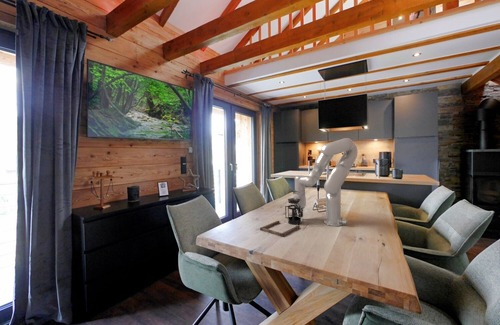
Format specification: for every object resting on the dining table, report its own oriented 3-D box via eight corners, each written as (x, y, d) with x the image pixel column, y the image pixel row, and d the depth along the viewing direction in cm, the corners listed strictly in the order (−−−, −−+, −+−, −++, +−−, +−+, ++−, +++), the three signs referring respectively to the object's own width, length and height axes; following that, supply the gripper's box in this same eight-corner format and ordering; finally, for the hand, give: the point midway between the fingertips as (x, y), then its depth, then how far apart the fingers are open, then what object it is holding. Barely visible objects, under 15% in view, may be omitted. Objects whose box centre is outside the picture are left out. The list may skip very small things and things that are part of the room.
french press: (303, 221, 156) (302, 190, 155) (301, 225, 148) (300, 192, 147) (287, 220, 161) (286, 189, 160) (284, 224, 152) (283, 191, 151)
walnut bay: (299, 228, 143) (299, 225, 143) (282, 236, 129) (282, 234, 129) (277, 222, 155) (277, 220, 155) (260, 230, 142) (259, 227, 141)
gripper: (300, 190, 168) (301, 213, 169) (290, 193, 157) (290, 218, 158) (309, 191, 163) (310, 215, 163) (299, 194, 152) (299, 220, 153)
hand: (300, 216), depth 161 cm, fingers closed
